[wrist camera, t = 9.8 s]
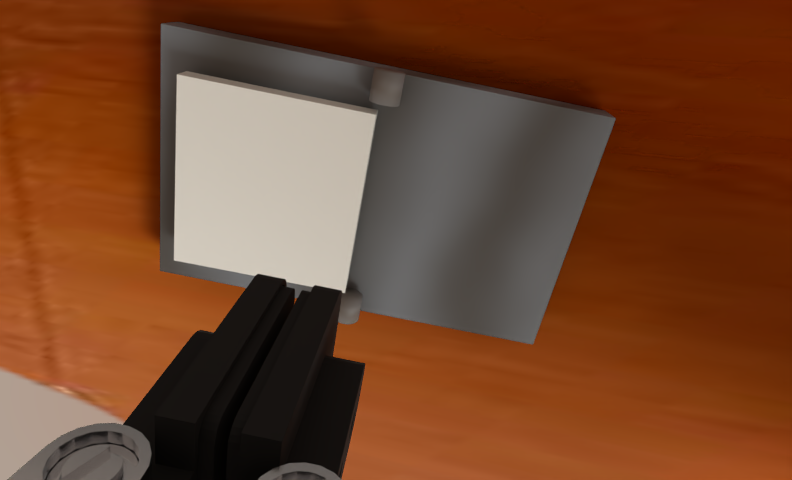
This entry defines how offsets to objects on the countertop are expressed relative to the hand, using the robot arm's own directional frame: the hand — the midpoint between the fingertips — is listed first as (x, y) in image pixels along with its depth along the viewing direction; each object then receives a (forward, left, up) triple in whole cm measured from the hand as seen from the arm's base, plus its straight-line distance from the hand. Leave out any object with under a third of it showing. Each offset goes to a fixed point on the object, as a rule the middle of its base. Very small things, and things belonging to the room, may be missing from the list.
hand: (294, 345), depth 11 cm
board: (0, +2, -14) cm, 15 cm away
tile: (+4, +2, -12) cm, 12 cm away
